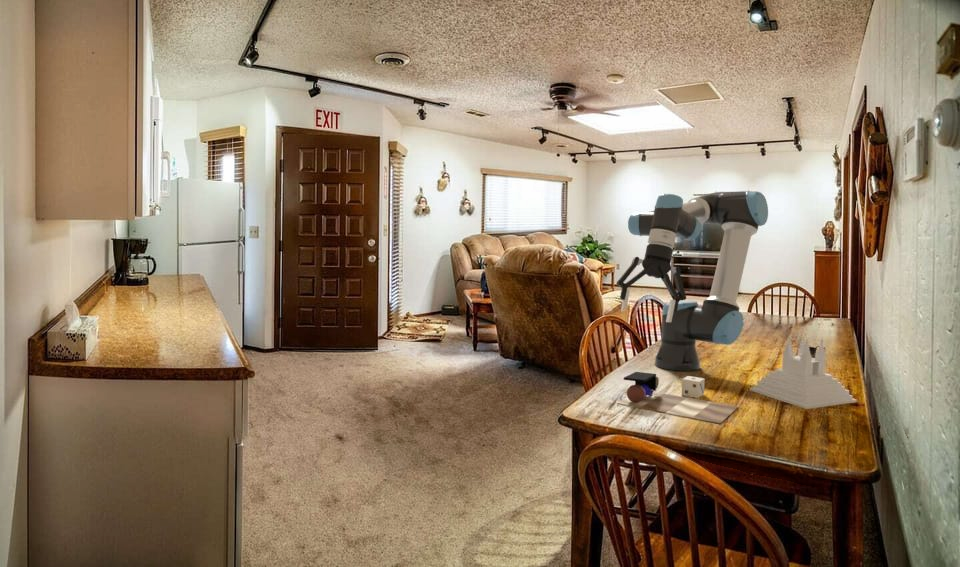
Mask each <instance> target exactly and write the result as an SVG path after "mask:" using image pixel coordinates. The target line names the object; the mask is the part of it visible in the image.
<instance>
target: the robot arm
mask: <svg viewBox="0 0 960 567" xmlns="http://www.w3.org/2000/svg"><path fill="white" fill-rule="evenodd" d="M768 218H769V205H768V201H767V199H766V196H765V195H764V194H763V193H762V192H760V191H757V190H756V191H752V190H746V191H745V190H743V191H741V190H740V191H717V192H711V193H707V194H704V195H701V196H697V197H694V198H693V197H692V198H690V199H689V200H688V201H687V202H685V203H684V199H683V198H682V196H679V195H677V194H674V193H662V194H660V195H658V197H657V199H656V202H655V205H654V210H651V211H646V212H645V211H644V212H643V211H639V212H632V214H630V216H629V218H628V221H627V227H628V231H629V233H630V234H631V235H633V236H639V237H648V239H647V243H648V245H646V249H645V253H644V258H643V259H641V258H640V257H639V256H635V257H633V258H632V261H631V264H630V266H628V268H627V269H626V270H625V272H624V273H623V274H622V275H621V277H620V278H619V279H618V280H617V281H616V286H619V287H620V288H621V291H620V296H619V300H622V301H621V302H622V303H621V307H620V312H623V313H624V312H626V310H627V306H628V302H629V301H628V300H629V296H630V291H631V289H629V287H631V286H632V285H634V283H636V282H637V281H638V280H640V279H641V278H642V277H644V276H645V275H647V276H648V277H653V278H655V279H661V281H662V283H663V284H664V286H665V287H666V289H667V291H668V292H669V295H670V297H671V298H672V299H670V300H669V302H666V303H665V304H664V305H663V307H662V313H661V336H660V337H661V338H660V339H661V340H660V341H661V342H660V346H659V348H658V351H657V353H656V356H655V360H654V365H655V366H656V367H658V368H661V369H666V370H670V371H671V370H672V371H680V372H681V371H682V372H686V371H687V372H688V371H689V372H691V371H693V372H694V371H697V370H699V369H701V368H700V366H701V363H700V358H699V355H698V351H697V347H696V342H697V341H699V342H705V343H712V344H715V345H724V346H726V345H732V344H734V343H735V342H736V341H737V340H738V338H740V336H741V333H742V331H743V328H744V324H745V323H744V315H743V313H742V312H741V311H740V306H739V304H738V303H737V299H738V294H739V292H740V291H739V290H740V286H741V281H742V279H743V278H742V277H743V273H744V269H745V264H746V262H747V261H746V260H747V255H748V252H749V247H750V241H751V239H752V236H753V235H755V234H757V232H758V230H759V227H762V226H764V225H766V224H767V221H768ZM703 224H705V225H719V226H720V225H721V228H722V230H723V231H724V234H723V238H722V242H721V243H722V244H721V246H720V251H719V255H718V259H717V264H716V267H715V271H714V272H715V273H714V276H713V280H712V285H711V289H710V293H709V296H708V297H707V298H705V299H704V300H703V301H702V306H699V304H698V302H697V301H692V300H691V301H690V300H689V301H686V300H687V294H686V291H685V287H684V283H683V280H682V276H681V270H682V269H681V267H680V266H672V265H671V262H672V257H673V253H674V249H673V248H674V247H675V244H676V238H679V239H681V240H685V241H693V240H694V239H697V237H698V236H699V235H700V234H701V231H702V225H703ZM640 264H641V265H642V267H643V269H642V270H640V272H638V273H637V274H636V275H634V276H633V277H632V278H630V279H629V280H628V281H627V282H625V281H626V280H627V278H628V277H629V276H630V275H631V274H632V273H633V272H634V270H635V269H636V268H637V266H640ZM670 271H671V273H672V275H673V281H674V283H675V287H676V288H675V287H674V285H673V283H672V280H671V278H670V275H669V274H668V273H669V272H670Z"/></svg>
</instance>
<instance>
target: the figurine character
mask: <svg viewBox="0 0 960 567" xmlns="http://www.w3.org/2000/svg"><path fill="white" fill-rule="evenodd" d="M623 380H624V381H631V382H635V384H632V385H630V386H629V387H628V388H627V390H626V397H628V399H629V400H630V401H632V402H635V403H638V402H641V401H643V400H644V398H645V396H646V395H648V396H649V395H651V394H653V392H657V389H658V387H659V382H660V379H659V377H658V376H657V374H656V373H651V372H643V371H635V372H632V373H630V374H628V375H626V376H624V377H623Z"/></svg>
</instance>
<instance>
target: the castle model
mask: <svg viewBox="0 0 960 567" xmlns="http://www.w3.org/2000/svg"><path fill="white" fill-rule="evenodd" d="M791 339H792V338H791V334H789V335H788V339H787V342H786V345H785V346H784V348H785V349H784V350H783V351H782V366H781V368H777V369H776V368H775V369H774V371H771V372H769V374H766V375H764V377H761V380H757V384H754V385H753V387H750V388H749V391H750V392H754V393H756V394H761V395H762V396H765V397H769V398H772V399H775V400H778V401H781V402H784V403H787V404H790V405H793V406H796V407H799V408H802V409H806V410H808V409H809V410H810V409H816V408H824V407H829V406H830V407H831V406H837V405H846V404H852V403H857V398H856V399H855V398H854V397H853V395H852V394H850V390H849V389H846V386H844V385H843V382H840V381H839V379H838V378H835V377H833V376H834V375H832V374H830V373H826V368H827V367H826V366H827V353H826V350H825V349H824V347H825V345H824V340H823V339H824V338H823V337H821V340H820V344H819V345H818V346H819V347H818V348H817V350H816V354H815V358H812V356H811V354H810V351H809V348H810V347H811V346H809V341H808V340H809V338H806V334H805V333H804V334H803V336H802V341H801V342H800V344H799V347H800V348H798V349H797V355H795V356H794V354H795V351H794V350H793V346H792V345H793V343H792V342H791V341H792V340H791Z"/></svg>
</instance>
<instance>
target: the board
mask: <svg viewBox="0 0 960 567" xmlns="http://www.w3.org/2000/svg"><path fill="white" fill-rule="evenodd" d="M616 405H621V406H626V407H631V408H636V409H641V410H647V411H652V412H656V413H662V414H667V415H672V416H677V417H681V418H687V419H692V420H697V421H701V422H707V423H711V424H717V425H721V424H723V422H724V421H725V420H727V419H728V418H729V417H730V416H731V415H732V414H733V413H734V412H736V410H738V409H739V406H736V405H730V404H726V403H719V402H714V401H707V400H702V399H699V398H693V397H688V396H682V395H676V394H675V395H674V394H671V393H669V394H668V393H663V392H658V391H654V392H653V394H651V395H649V396H648V395H646V396H645V398H644V400H643V401H641V402H638V403H635V402H632V401H630V400H629V399H628V397H627V396H626V397H625V398H622V399H621V400H619V401H617V402H616Z"/></svg>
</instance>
